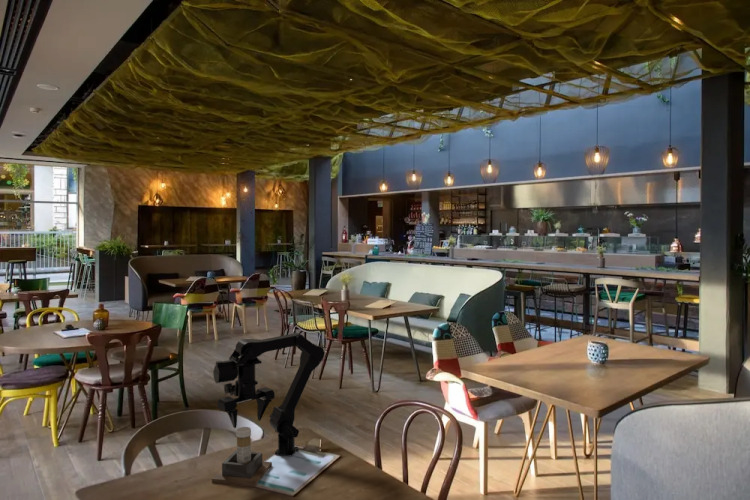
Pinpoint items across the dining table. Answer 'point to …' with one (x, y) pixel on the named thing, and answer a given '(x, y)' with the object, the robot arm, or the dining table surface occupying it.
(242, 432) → the sprinkles bottle
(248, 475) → the socket board
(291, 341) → the robot arm
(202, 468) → the dining table surface
